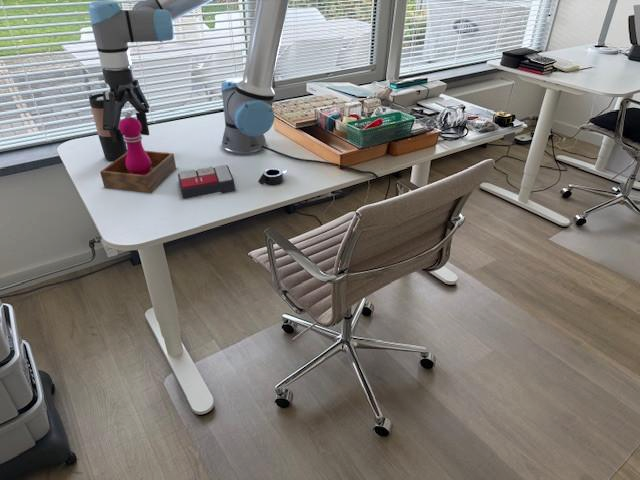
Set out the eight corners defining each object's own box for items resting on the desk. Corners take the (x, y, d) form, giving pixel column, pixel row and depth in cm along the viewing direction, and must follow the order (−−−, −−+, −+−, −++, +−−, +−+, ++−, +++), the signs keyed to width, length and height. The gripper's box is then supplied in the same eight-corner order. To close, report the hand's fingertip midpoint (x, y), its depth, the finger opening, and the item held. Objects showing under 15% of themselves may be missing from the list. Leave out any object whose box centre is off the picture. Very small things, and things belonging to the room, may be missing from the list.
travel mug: (106, 163, 148) (89, 102, 137) (103, 155, 153) (87, 95, 142) (131, 159, 151) (116, 98, 140) (127, 151, 156) (113, 92, 145)
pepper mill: (157, 172, 143) (145, 109, 131) (148, 183, 137) (134, 117, 125) (135, 171, 143) (120, 107, 132) (124, 181, 137) (108, 116, 126)
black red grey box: (177, 171, 136) (227, 162, 140) (180, 183, 138) (229, 175, 142) (180, 187, 127) (233, 178, 131) (183, 201, 130) (235, 191, 134)
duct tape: (292, 185, 138) (291, 176, 136) (259, 188, 136) (258, 179, 134) (286, 173, 144) (286, 165, 142) (254, 177, 142) (254, 168, 140)
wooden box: (176, 168, 146) (173, 153, 143) (150, 193, 132) (146, 176, 129) (134, 164, 148) (130, 149, 145) (104, 188, 134) (99, 171, 131)
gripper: (128, 55, 132) (142, 126, 144) (74, 78, 112) (95, 158, 124) (153, 57, 131) (165, 129, 143) (102, 80, 111) (121, 161, 123)
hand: (133, 143), depth 134 cm, fingers open, 13 cm apart
